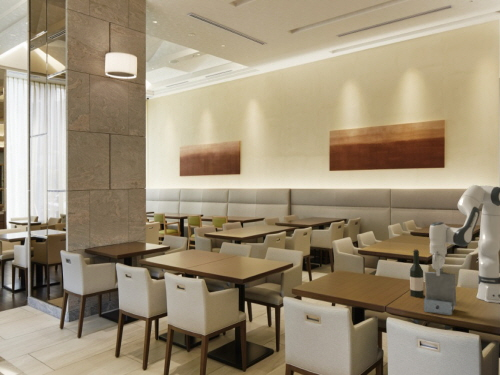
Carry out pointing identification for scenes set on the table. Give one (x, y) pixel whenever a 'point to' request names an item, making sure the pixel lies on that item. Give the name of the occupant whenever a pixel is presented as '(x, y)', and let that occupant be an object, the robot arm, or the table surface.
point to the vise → (438, 306)
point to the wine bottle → (416, 277)
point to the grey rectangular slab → (440, 286)
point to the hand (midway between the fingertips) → (439, 274)
